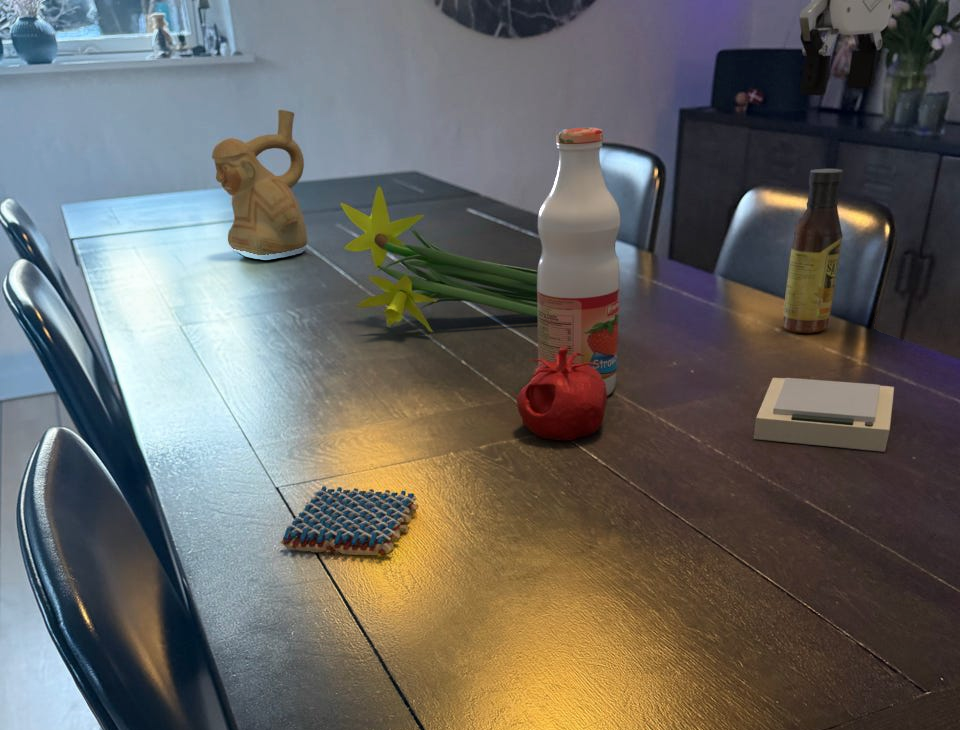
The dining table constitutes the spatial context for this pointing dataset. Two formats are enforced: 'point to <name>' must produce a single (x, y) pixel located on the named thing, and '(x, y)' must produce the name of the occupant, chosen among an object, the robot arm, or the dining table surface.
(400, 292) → the daffodil flowers
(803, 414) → the scale
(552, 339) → the fruit juice
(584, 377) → the pomegranate
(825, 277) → the sauce bottle
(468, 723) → the dining table surface
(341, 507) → the woven mat
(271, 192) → the ceramic vessel
